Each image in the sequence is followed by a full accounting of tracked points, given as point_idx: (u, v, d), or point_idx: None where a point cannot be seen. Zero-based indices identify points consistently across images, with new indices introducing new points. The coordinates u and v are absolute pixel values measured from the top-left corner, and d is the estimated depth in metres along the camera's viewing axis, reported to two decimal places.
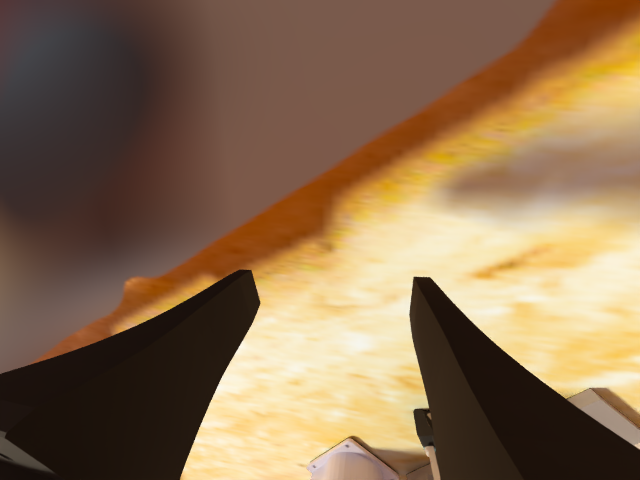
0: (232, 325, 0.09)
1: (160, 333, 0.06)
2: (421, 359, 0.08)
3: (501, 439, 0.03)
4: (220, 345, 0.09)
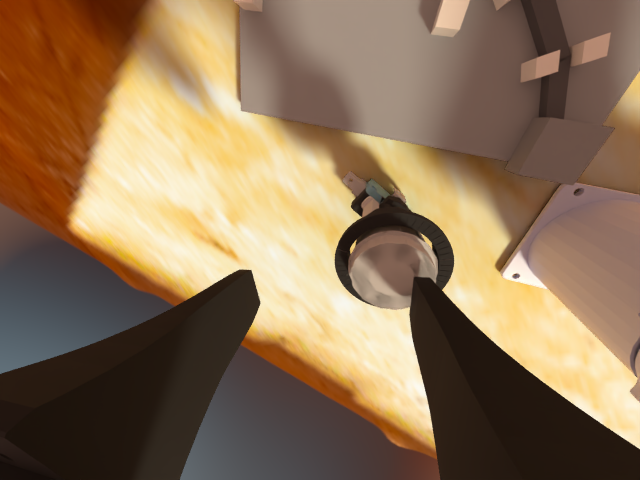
0: (232, 325, 0.09)
1: (160, 333, 0.06)
2: (420, 359, 0.08)
3: (501, 439, 0.03)
4: (221, 345, 0.09)
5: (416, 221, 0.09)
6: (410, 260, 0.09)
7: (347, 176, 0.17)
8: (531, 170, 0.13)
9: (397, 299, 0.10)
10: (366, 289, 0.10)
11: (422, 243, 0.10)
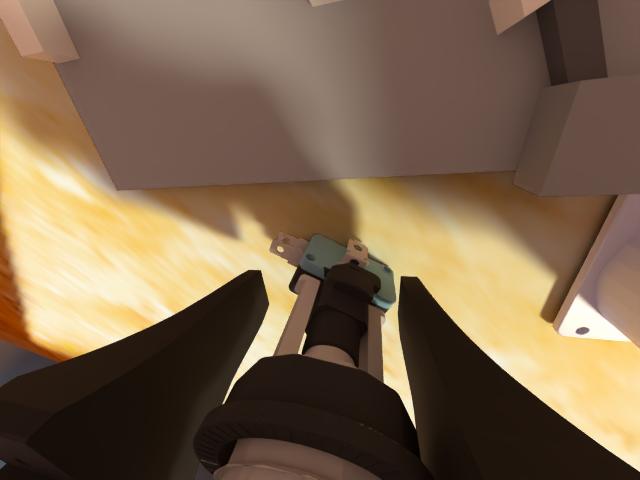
0: (243, 326, 0.09)
1: (174, 335, 0.06)
2: (406, 358, 0.08)
3: (465, 433, 0.03)
4: (232, 346, 0.09)
5: (308, 437, 0.04)
6: None
7: (273, 244, 0.11)
8: (566, 184, 0.07)
9: None
10: None
11: None
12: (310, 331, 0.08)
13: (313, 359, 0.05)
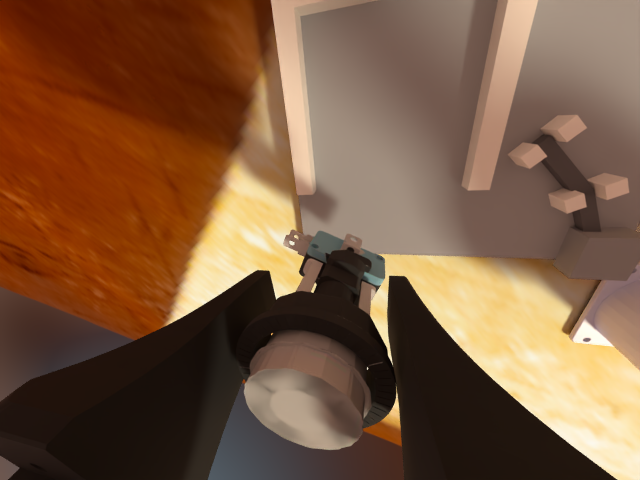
0: None
1: (187, 336, 0.06)
2: (393, 356, 0.08)
3: (434, 427, 0.04)
4: None
5: (307, 321, 0.06)
6: (308, 388, 0.06)
7: (286, 238, 0.14)
8: (582, 274, 0.15)
9: (324, 437, 0.07)
10: (279, 426, 0.07)
11: (326, 351, 0.06)
12: None
13: (312, 293, 0.08)
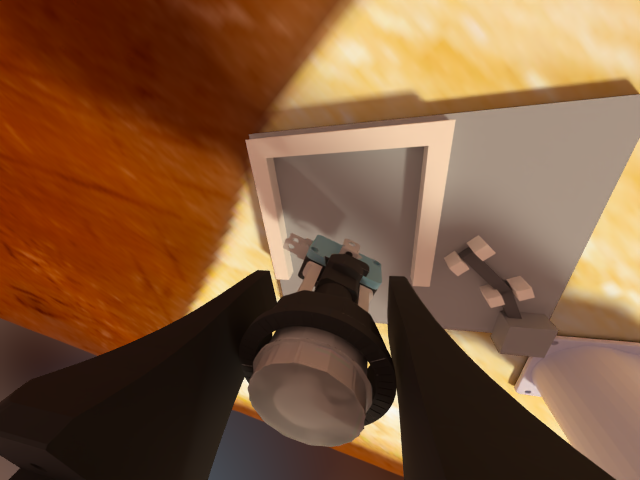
0: None
1: (187, 336, 0.06)
2: (393, 356, 0.08)
3: (433, 427, 0.04)
4: None
5: (313, 318, 0.07)
6: (313, 382, 0.06)
7: (286, 241, 0.14)
8: (509, 351, 0.18)
9: (326, 433, 0.07)
10: (281, 423, 0.07)
11: (331, 347, 0.07)
12: None
13: (316, 292, 0.08)
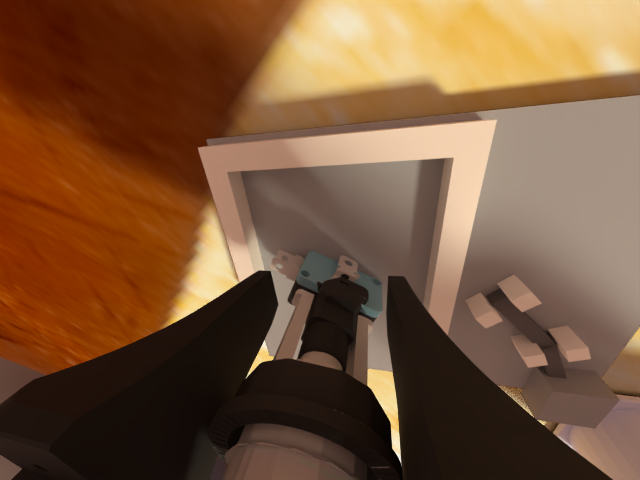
0: (254, 327, 0.09)
1: (189, 337, 0.06)
2: (392, 356, 0.08)
3: (430, 427, 0.04)
4: (244, 348, 0.08)
5: (295, 419, 0.05)
6: None
7: (273, 261, 0.13)
8: (548, 418, 0.14)
9: None
10: None
11: (319, 456, 0.05)
12: (304, 339, 0.09)
13: (302, 362, 0.06)
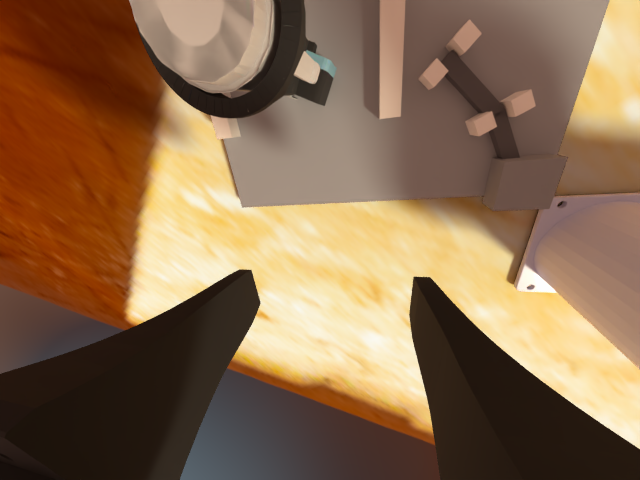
0: (232, 325, 0.09)
1: (160, 333, 0.06)
2: (421, 359, 0.08)
3: (501, 439, 0.03)
4: (220, 345, 0.09)
5: None
6: None
7: None
8: (504, 205, 0.14)
9: (222, 43, 0.06)
10: (176, 52, 0.06)
11: None
12: None
13: None
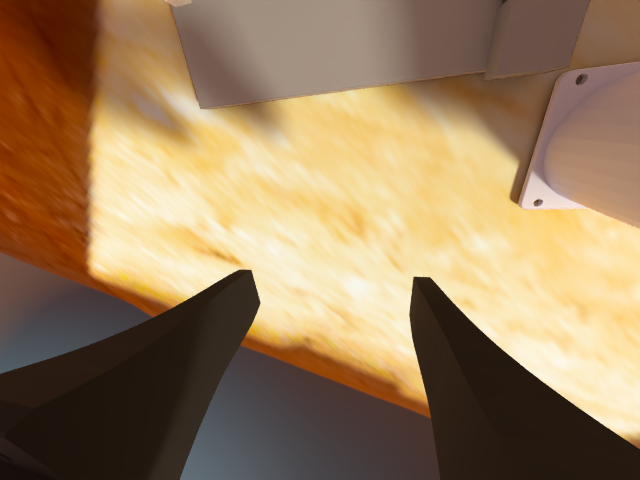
0: (232, 325, 0.09)
1: (160, 333, 0.06)
2: (421, 359, 0.08)
3: (501, 439, 0.03)
4: (221, 345, 0.09)
5: None
6: None
7: None
8: (511, 65, 0.11)
9: None
10: None
11: None
12: None
13: None
